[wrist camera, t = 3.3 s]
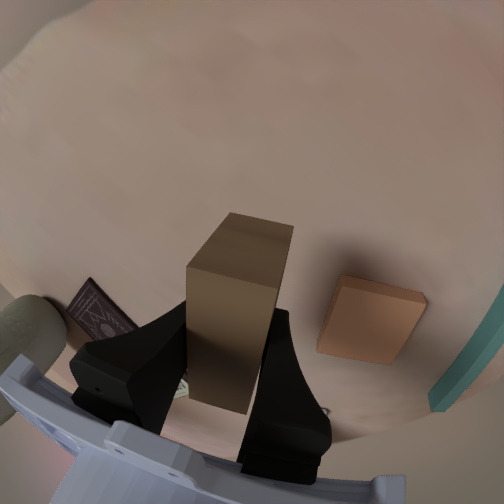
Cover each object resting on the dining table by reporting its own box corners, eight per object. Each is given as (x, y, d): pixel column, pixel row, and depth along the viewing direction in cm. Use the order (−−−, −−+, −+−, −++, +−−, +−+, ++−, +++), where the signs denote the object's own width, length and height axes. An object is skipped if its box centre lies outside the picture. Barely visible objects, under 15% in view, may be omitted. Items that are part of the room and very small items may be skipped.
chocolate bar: (87, 279, 27) (204, 389, 31) (92, 274, 28) (207, 383, 32) (65, 310, 31) (164, 401, 36) (69, 306, 32) (167, 396, 36)
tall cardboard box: (265, 346, 17) (246, 414, 13) (218, 334, 18) (188, 398, 13) (293, 226, 13) (277, 289, 9) (230, 212, 14) (186, 266, 9)
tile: (388, 349, 24) (390, 365, 22) (317, 336, 25) (315, 352, 23) (420, 289, 21) (426, 304, 19) (341, 270, 22) (341, 285, 20)
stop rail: (440, 394, 25) (444, 411, 23) (427, 393, 25) (430, 411, 23) (539, 240, 15) (554, 254, 13) (527, 233, 15) (542, 248, 13)
